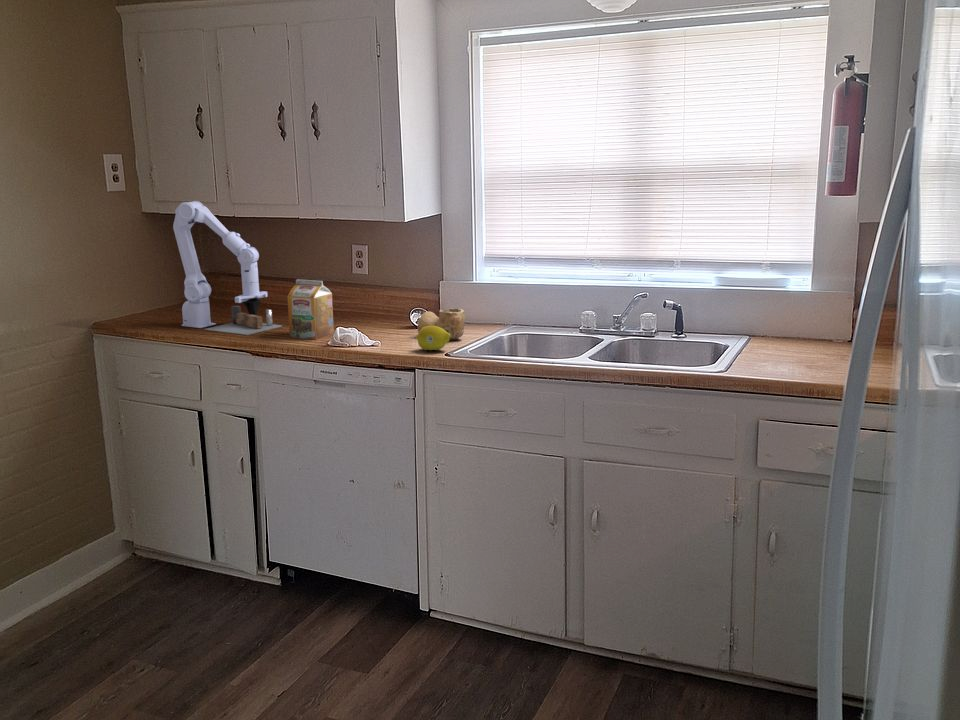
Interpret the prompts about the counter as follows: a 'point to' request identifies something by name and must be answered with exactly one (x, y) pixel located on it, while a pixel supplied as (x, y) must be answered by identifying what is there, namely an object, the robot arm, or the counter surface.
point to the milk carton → (310, 310)
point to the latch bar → (245, 318)
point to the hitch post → (269, 317)
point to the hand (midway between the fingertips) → (253, 319)
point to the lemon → (432, 338)
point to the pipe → (445, 321)
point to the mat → (241, 329)
